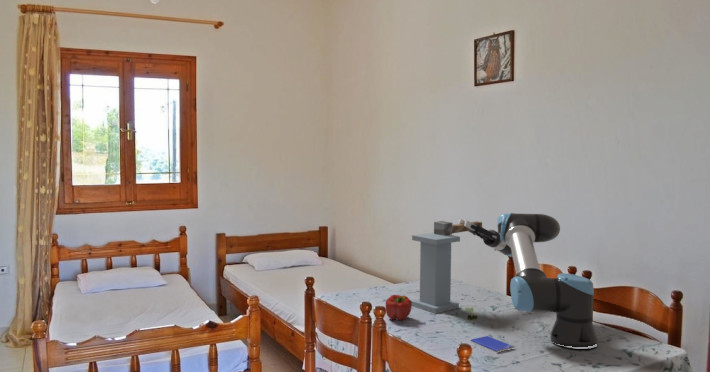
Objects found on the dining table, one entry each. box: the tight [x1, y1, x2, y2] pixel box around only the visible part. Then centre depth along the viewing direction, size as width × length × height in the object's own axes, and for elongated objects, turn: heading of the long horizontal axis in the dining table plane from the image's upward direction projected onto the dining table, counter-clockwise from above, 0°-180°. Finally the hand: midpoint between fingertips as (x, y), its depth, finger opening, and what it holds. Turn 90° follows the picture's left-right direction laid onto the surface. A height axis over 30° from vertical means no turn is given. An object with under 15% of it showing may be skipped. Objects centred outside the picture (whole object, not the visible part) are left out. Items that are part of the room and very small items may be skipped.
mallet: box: [433, 220, 483, 236], centre depth 250 cm, size 25×6×5 cm, turn 125°
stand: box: [411, 232, 461, 314], centre depth 240 cm, size 14×14×30 cm
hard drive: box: [470, 335, 515, 354], centre depth 195 cm, size 2×8×12 cm
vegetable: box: [385, 294, 413, 321], centre depth 223 cm, size 11×10×10 cm
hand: (462, 222), depth 250 cm, fingers closed on mallet, 3 cm apart
